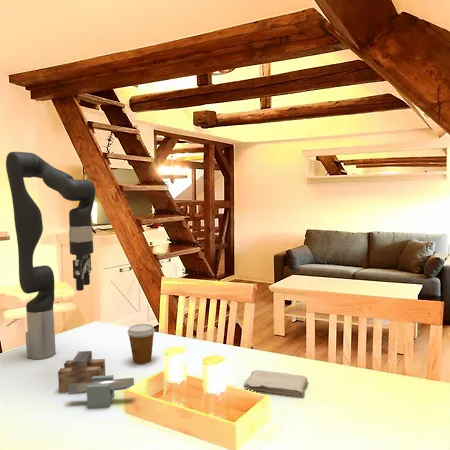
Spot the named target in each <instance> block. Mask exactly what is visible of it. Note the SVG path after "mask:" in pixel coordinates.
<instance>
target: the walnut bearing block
mask: <svg viewBox="0 0 450 450" xmlns="http://www.w3.org/2000/svg"><path fill="white" fill-rule="evenodd" d="M63 365H64V366H63V368H62V367H60V369H59V370H58V371H57V374H58V375H57V377H58V393H61V394H62V393H68V385H69V384H70V383H81V382H92V377H93V376H106V360H105V358H95V359H93V352H92V350H83V351H81V350H80V351H78V352H77V353H76V354H75V356H74V358H73V359H72V360H66V361H65V362H64V364H63Z"/></svg>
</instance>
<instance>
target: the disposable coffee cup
mask: <svg viewBox="0 0 450 450" xmlns="http://www.w3.org/2000/svg"><path fill="white" fill-rule="evenodd" d="M155 331H156V330H155V328H154V325H153V324H149V323H138V324H134V325H131V326H129V327H128V329H127V334H128V335H127V336H128V338H129V343H130V350H131V356H132V362H133V363H134V364H138V365H143V364H144V365H145V364H148V363H150V362H151V361H152V358H153V357H152V355H153V344H154V333H155Z"/></svg>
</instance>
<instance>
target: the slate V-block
mask: <svg viewBox="0 0 450 450" xmlns="http://www.w3.org/2000/svg"><path fill="white" fill-rule="evenodd" d="M114 378H115V377H114V375H113V374H112V375H105V376H93V377H92V381H103V380H114ZM114 396H115V391H110V384H95V385H87V393H86V401H87V402H86V405H87V407H86V408H87V409H97V408H98V409H99V408H110V406H111V404H112V401H113V399H114V398H115V397H114Z"/></svg>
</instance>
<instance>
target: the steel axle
mask: <svg viewBox="0 0 450 450" xmlns="http://www.w3.org/2000/svg"><path fill="white" fill-rule="evenodd" d="M95 384H110V391H114V392H115V391H123V390H125V389H126V390H128V389H127V388H129V387H131V386H133V385H134V386H135V378H134V377H128V378H117V379H114V380H103V381H92V382H81V383H70V384H69V385H68V392H67V393H68V396H69V395H70V396H71V395H79V394H87V385H95Z"/></svg>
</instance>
